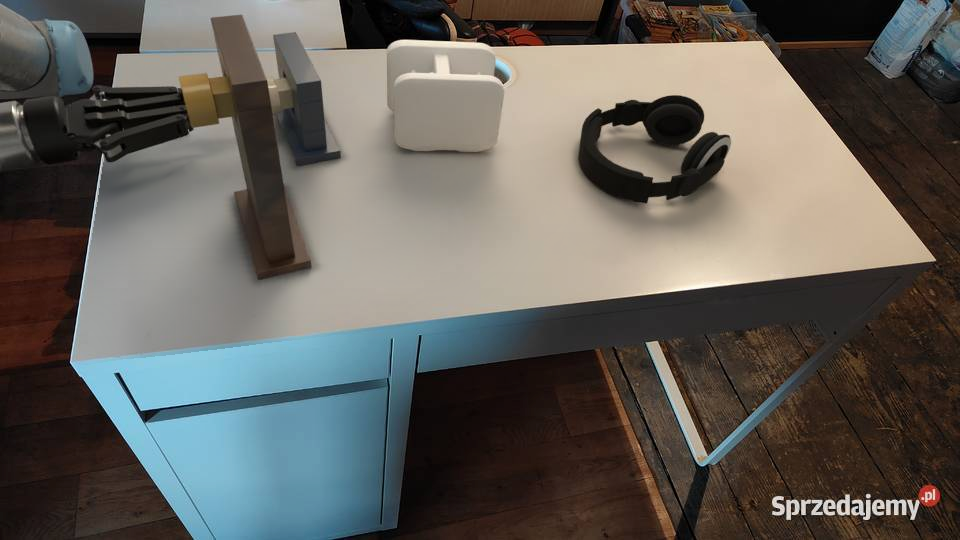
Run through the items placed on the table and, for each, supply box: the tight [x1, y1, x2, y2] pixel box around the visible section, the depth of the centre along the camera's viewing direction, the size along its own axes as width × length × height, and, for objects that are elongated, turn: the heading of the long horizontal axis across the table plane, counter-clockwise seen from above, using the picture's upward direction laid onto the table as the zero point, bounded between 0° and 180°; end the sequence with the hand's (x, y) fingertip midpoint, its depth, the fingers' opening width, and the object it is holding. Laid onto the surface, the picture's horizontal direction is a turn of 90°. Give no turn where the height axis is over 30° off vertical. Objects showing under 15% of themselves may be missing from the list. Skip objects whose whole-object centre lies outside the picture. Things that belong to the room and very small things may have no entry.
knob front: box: [178, 72, 236, 128], centre depth 64 cm, size 6×5×5 cm
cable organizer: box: [386, 39, 505, 153], centre depth 91 cm, size 15×11×12 cm
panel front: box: [210, 14, 313, 281], centre depth 70 cm, size 6×14×24 cm, turn 23°
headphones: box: [577, 94, 732, 204], centre depth 92 cm, size 18×8×20 cm
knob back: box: [266, 75, 294, 116], centre depth 86 cm, size 6×5×5 cm
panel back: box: [272, 31, 342, 167], centre depth 88 cm, size 6×14×12 cm, turn 25°
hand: (242, 100), depth 84 cm, fingers closed
